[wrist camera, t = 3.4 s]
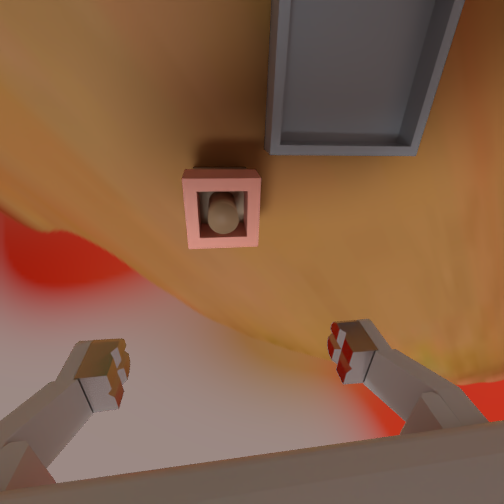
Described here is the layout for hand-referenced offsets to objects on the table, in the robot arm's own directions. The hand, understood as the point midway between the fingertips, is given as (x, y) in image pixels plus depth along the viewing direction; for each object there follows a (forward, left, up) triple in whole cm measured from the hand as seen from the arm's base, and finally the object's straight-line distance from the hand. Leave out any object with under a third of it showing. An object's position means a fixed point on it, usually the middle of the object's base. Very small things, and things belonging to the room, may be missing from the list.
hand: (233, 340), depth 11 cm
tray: (-11, -11, -19) cm, 25 cm away
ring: (0, 0, -16) cm, 16 cm away
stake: (0, 0, -19) cm, 19 cm away
